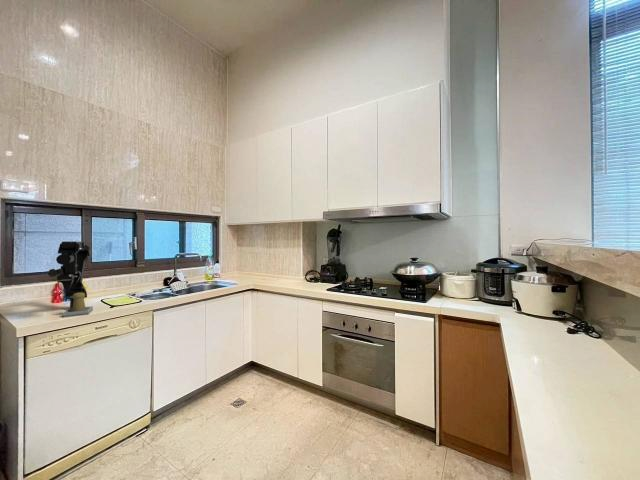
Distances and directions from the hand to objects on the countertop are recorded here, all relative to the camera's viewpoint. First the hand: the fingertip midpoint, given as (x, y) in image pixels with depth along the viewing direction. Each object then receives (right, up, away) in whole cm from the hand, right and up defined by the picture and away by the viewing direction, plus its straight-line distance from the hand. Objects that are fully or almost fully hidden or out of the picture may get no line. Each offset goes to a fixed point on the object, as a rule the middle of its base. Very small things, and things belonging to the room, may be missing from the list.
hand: (69, 290), depth 147 cm
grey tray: (+5, -13, 0) cm, 14 cm away
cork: (+5, -12, 0) cm, 14 cm away
